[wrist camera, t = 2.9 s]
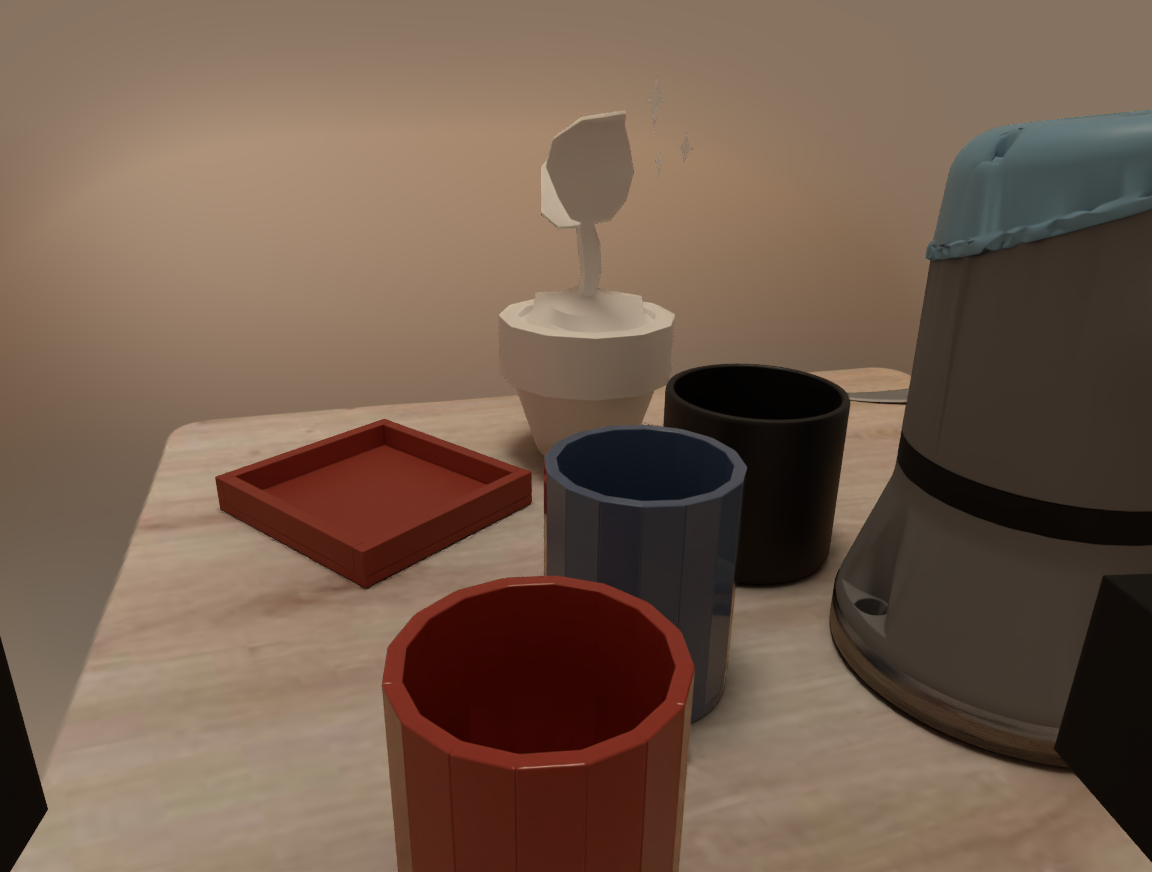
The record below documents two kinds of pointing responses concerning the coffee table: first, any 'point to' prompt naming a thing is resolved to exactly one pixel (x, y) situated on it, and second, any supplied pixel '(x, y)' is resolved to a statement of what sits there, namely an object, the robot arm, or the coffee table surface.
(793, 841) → the coffee table surface
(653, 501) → the blue cup
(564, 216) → the potted plant
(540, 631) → the red cup
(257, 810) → the coffee table surface
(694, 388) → the mug
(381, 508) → the red tray
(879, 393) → the knife
